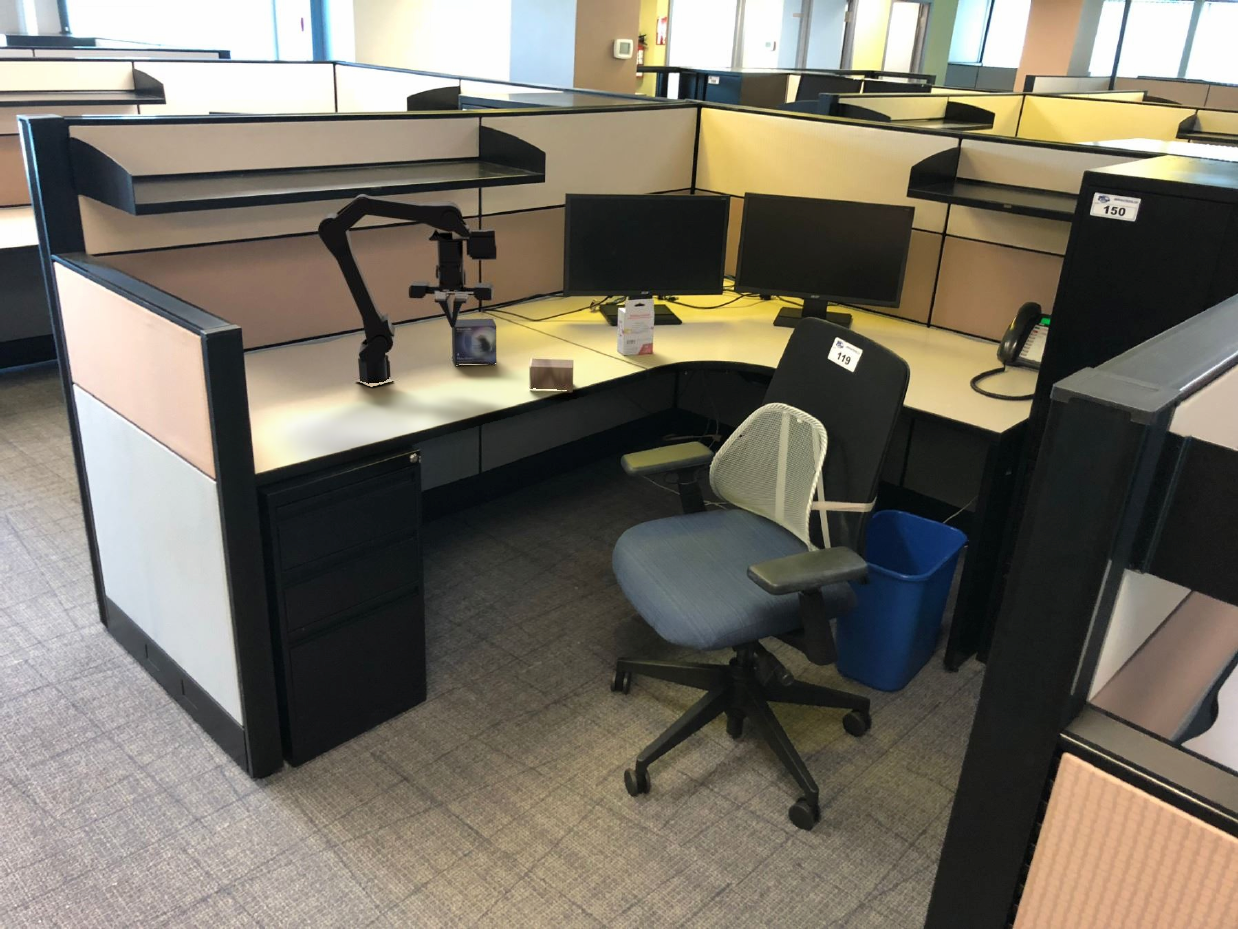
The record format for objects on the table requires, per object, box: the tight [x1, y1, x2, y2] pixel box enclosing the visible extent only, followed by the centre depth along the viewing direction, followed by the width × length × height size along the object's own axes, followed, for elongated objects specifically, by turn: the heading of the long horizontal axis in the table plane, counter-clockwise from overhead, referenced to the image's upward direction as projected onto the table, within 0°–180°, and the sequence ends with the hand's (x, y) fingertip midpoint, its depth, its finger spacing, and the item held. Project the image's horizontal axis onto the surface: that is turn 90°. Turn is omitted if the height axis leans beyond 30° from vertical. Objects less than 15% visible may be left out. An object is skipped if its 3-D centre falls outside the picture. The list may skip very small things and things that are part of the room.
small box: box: [451, 318, 497, 366], centre depth 240 cm, size 11×6×10 cm, turn 105°
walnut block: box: [528, 358, 574, 393], centre depth 226 cm, size 6×6×10 cm
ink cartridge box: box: [616, 298, 655, 356], centre depth 252 cm, size 9×5×15 cm, turn 112°
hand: (452, 327), depth 223 cm, fingers closed
